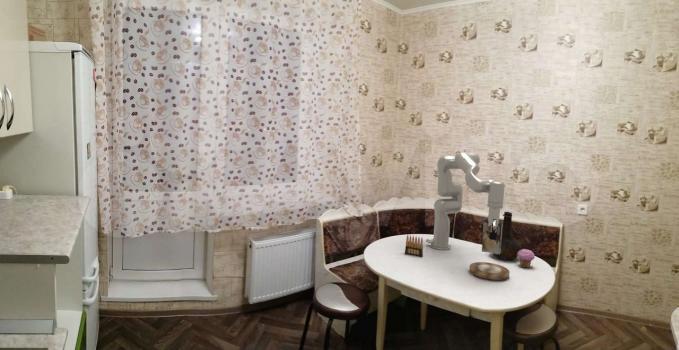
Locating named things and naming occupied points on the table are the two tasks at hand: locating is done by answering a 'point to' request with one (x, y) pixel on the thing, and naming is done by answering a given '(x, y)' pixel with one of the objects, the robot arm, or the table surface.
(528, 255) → the cupcake
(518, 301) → the table surface
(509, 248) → the dark brown vase
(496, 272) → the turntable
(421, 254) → the ammunition clip
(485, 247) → the coffee box
